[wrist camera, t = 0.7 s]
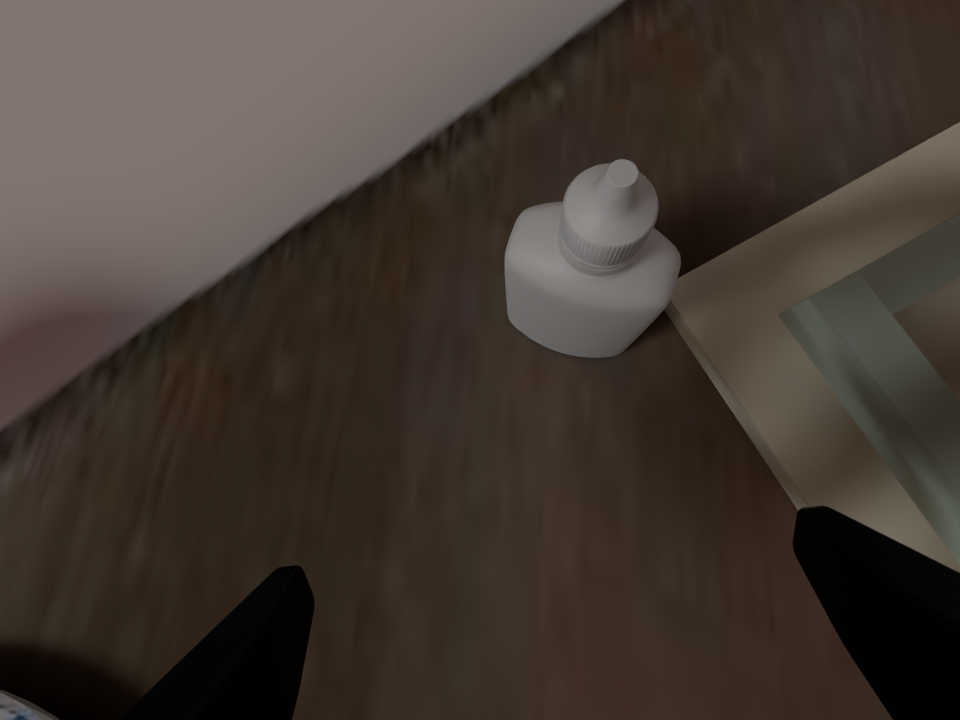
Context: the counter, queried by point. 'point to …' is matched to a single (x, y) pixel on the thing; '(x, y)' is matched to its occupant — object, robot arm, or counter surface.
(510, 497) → the counter surface
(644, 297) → the eye dropper bottle
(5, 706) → the ceramic plate
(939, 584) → the robot arm
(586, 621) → the counter surface
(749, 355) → the bottle socket
